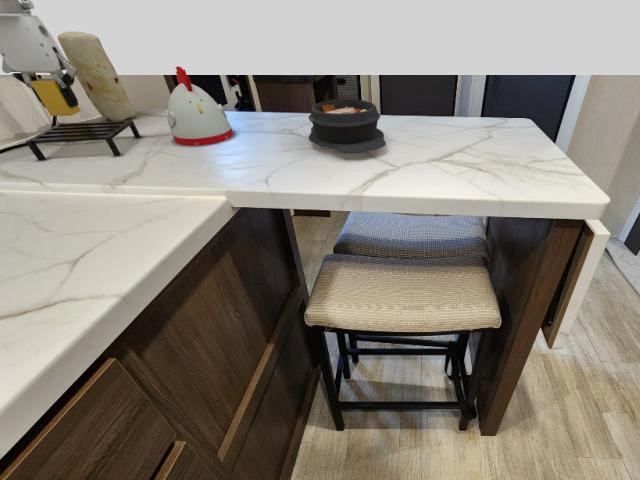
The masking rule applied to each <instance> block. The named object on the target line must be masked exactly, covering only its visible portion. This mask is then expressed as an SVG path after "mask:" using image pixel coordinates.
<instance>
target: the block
mask: <svg viewBox="0 0 640 480" xmlns="http://www.w3.org/2000/svg"><path fill="white" fill-rule="evenodd" d="M30 83H31V84H32V86H33V88H34V89H35V91H36V92H37V94H38V96H39V97H40V99H41V101H42V102H43V104H44V105H45V107H46V108H45V107H44V108H45V109H46V111H47V112H48V114H49V115H50V117H64V116H65V117H66V116H67V117H69V116H74V115H76V114H78V113H80V112H81V108H80V106H79V104H78V105H77V106H75V107H69V106H68V104H67V102H66V100H65V99H64V97H63V95H62V93H61V92H60V90H59V88H61V87H60V85H59V84H58V83H57V82H56V80H55V79H54V78H53V77H52V78H51V77H50V78H49V77H48V78H46V77H45V78H43V77H42V78H38V80H34V81H31V82H30Z"/></svg>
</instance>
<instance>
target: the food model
mask: <svg viewBox="0 0 640 480" xmlns="http://www.w3.org/2000/svg"><path fill="white" fill-rule="evenodd" d="M56 37H57V41H58V42H59V45H60V47H61V49H62V51H63V54H64V56H65V58H66V60H67V61H68V62H69V63H71V64H72V65H73V66H74V67H76V68H77V69H78V73H77V74H76V75H75V77H76V78H77V80H78V82H79V84H80V85H81V87H82V89H83V91H84V92H85V94H86V96H87V98H88V99H89V101H90V102H91V104H92V105H93V107H94V108H95V109H96V110H97V112H98V113H99V114H100V116H101V117H102V118H103V119H105V120H110V121H126V120H127V119H130V118H134V117H135V115H136V112H135V110H134V107H133V105H132V104H131V101H130V99H129V96H128V94H127V92H126V90H125V87H124V86H123V84H122V82H121V80H120V78H119V75H118V73H117V71H116V69H115V67H114V64H113V63H112V61H111V60H110V58H109V56H108V54H107V53H106V50H105V49H104V46H103V45H102V42H101V39H100V38H99V37H98V36H97V35H94V34H92V33H87V32H83V31H77V30H76V31H75V30H74V31H73V30H72V31H65V32H62V33H60V34H58V35H57V36H56Z"/></svg>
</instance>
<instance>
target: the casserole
mask: <svg viewBox="0 0 640 480" xmlns="http://www.w3.org/2000/svg"><path fill="white" fill-rule="evenodd" d="M380 118H381V114H380V113H379V112H378V109H377V106H376V104H374V103H373V102H370V101H367V100H362V99H353V98H352V99H351V98H339V99H330V100H325V101H320V102H317V103H315V104H313V105H312V106H311V110H310V115H308V120H309V121H310V122H311V123H312V126H311V128H310V133H309V135H308V140H309V142H311V143H312V144H313V145H316V146H318V147H322V148H327V149H330V150H333V151H336V152H338V153H343V154H361V153H366V152H372V151H376V150H379V149H381V148H383V147H385V146H386V144H387V142H386V140H385V133H384V132H383V131H382V130H381V129H380V128H378V121H379V120H380Z"/></svg>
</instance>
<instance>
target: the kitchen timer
mask: <svg viewBox="0 0 640 480" xmlns="http://www.w3.org/2000/svg"><path fill="white" fill-rule="evenodd" d="M175 69H176V71H175V73H176V80H177V82H178V85H177V86H176V87H174V89H173V90H172V92H171V94H170V97H169V99H168V106H167V108H165V109H164V111H165V115H166V120H167V124H168V126H169V130H170V133H171V135H172V137H173V140H174V142H175V143H176V144H177V145H180V146H187V147H201V146H210V145H214V144H220V143H222V142H226V141H227V140H230V139H231V138H233V136H234V132H233V129H232V126H231V123H230V122H229V120H228V116H227V114H226V112H225V109H224V108H223V106H222V104H221V103H219V104H218V103H217V101H215V99H214V98H213V97H212V96H211V95H209V93H207V92H206V91H205V90H203V89H202V88H201V87H200V86H197V85H195V84H193V83H192V81H191V79H190V78H191V77H190V76H188V74H187V71H186V69H184V68H183V67H182V66H179V65H178V66H175Z"/></svg>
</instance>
